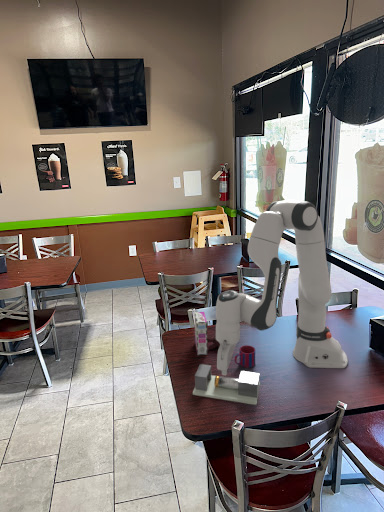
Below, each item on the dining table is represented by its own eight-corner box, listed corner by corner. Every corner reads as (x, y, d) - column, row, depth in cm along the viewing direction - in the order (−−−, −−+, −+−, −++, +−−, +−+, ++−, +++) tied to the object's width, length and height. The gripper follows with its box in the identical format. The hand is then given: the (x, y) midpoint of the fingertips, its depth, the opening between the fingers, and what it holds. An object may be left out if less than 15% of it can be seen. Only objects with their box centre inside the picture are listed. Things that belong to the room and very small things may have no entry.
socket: (211, 378, 143) (211, 365, 141) (206, 391, 136) (206, 377, 134) (200, 376, 144) (200, 364, 142) (195, 389, 137) (194, 375, 135)
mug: (258, 365, 152) (258, 351, 150) (238, 371, 148) (238, 357, 146) (249, 357, 158) (249, 343, 156) (230, 363, 154) (229, 349, 152)
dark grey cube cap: (259, 386, 137) (259, 373, 135) (257, 397, 131) (257, 384, 129) (241, 383, 139) (241, 370, 137) (238, 394, 133) (238, 381, 131)
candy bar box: (208, 354, 161) (207, 322, 156) (197, 355, 161) (196, 323, 156) (205, 342, 172) (204, 311, 167) (195, 342, 171) (193, 311, 167)
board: (259, 384, 140) (259, 382, 140) (256, 404, 129) (256, 402, 129) (200, 375, 147) (200, 373, 146) (192, 394, 136) (192, 392, 135)
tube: (255, 387, 136) (255, 379, 135) (253, 394, 133) (253, 385, 131) (216, 382, 140) (216, 373, 139) (214, 388, 137) (214, 379, 136)
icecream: (230, 326, 173) (202, 335, 168) (237, 329, 166) (208, 339, 161) (233, 339, 173) (206, 349, 168) (240, 343, 166) (212, 354, 161)
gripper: (230, 350, 120) (229, 385, 124) (240, 322, 139) (240, 353, 143) (212, 347, 122) (212, 382, 126) (225, 320, 141) (224, 351, 145)
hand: (227, 366), depth 135 cm, fingers open, 8 cm apart
